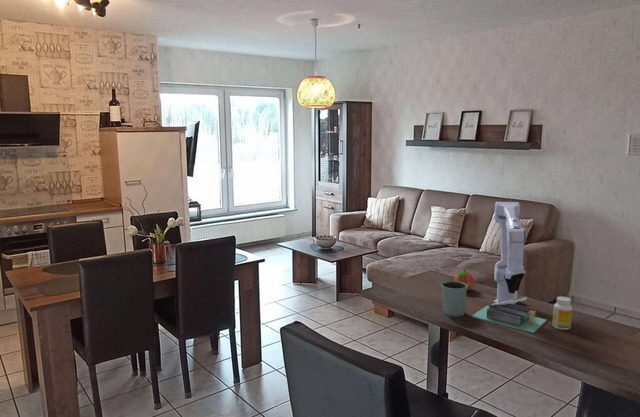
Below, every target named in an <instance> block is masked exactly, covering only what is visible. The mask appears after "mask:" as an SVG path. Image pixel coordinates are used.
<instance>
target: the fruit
mask: <svg viewBox="0 0 640 417" xmlns="http://www.w3.org/2000/svg"><path fill="white" fill-rule="evenodd" d="M472 273H473V272H472V271H469V270H468V271H467V270H466V269H463V271H459V272H458V273H457V274H456V275H455V277H454V281H457V282H462V283H465V284H466V285H467V291H470V290H471V289H472V288H473V286H474V283H475V280H474V277H473V275H472Z"/></svg>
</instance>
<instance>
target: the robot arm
mask: <svg viewBox="0 0 640 417" xmlns="http://www.w3.org/2000/svg"><path fill="white" fill-rule="evenodd" d="M520 214H521V205H520V203H519V201H515V202H514V201H509V202H508V201H495V203H494V219H495V222H496V223H498V224H499V230H500V257H501V258H500V260H499V261H497V262H496V263H495V264H494V272H493V274H494V275H493V276H494V281H495V283H497V285H496V287H497V291H496V299H494V300H493V302H498V301H501V302H503V301H508V300H512V299H517V298H518V291H519V289H520V285H521V283H522V281H523V278H524V277H525V274H526V270H524V267H525V266H524V265H523V264H524V263H523V262H524V249H525V247H524V246H525V244H526V242H527V230H526V228H524V227H523V226H522V223H521V221H520V219H519V217H520ZM493 302H492V303H493ZM517 303H518V302H514V303H510V304H514V305H517Z"/></svg>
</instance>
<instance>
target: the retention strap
mask: <svg viewBox="0 0 640 417" xmlns="http://www.w3.org/2000/svg"><path fill="white" fill-rule="evenodd" d="M527 299H528V297H527V296H523V297H517V299H512V300H508V301H503V302H498V303H494V304H493V303H492V304H491V305H493V307H495V306H500V305H504V304H509V303H514V302H517V303H518V302H524V301H526V300H527Z"/></svg>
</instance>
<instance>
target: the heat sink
mask: <svg viewBox="0 0 640 417" xmlns="http://www.w3.org/2000/svg"><path fill="white" fill-rule="evenodd" d="M498 302H501V301H498ZM498 302H492V304H494V303H498ZM492 304H491V303H489V304H488V306H489V309H487V318H488V319H492V320H496V321H499V322H503V323H507V324H511V325H515V326H519V327H520V326H521V325H523V324H524V323H525V322H526V321H527V320H528V319H529V325H533V324H534V323H535V317H536V314H537V313H536V310H532V308H531V307H526V306H522V305H518V304H510V303H509V304H504V305H500V306H495V307H493V305H492Z"/></svg>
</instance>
